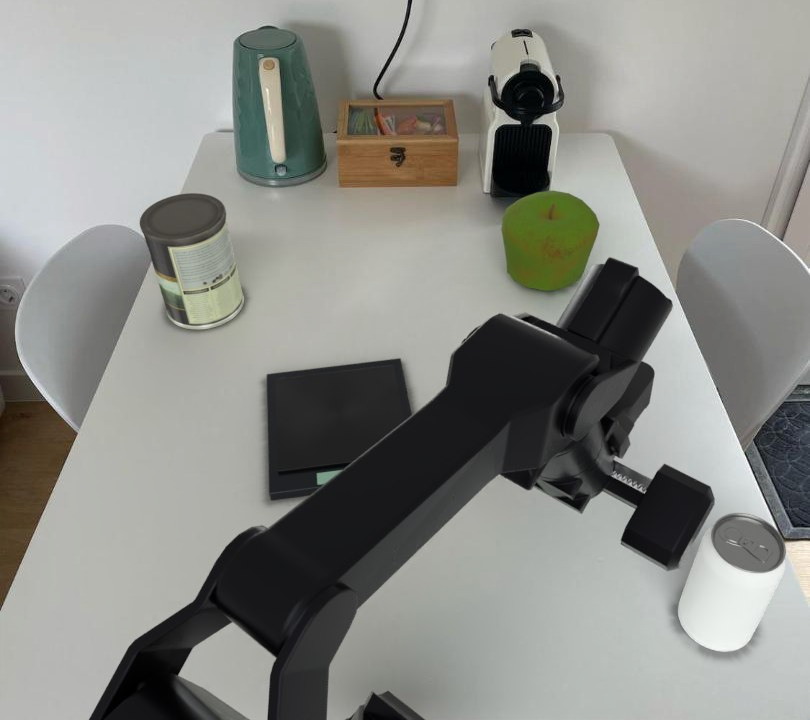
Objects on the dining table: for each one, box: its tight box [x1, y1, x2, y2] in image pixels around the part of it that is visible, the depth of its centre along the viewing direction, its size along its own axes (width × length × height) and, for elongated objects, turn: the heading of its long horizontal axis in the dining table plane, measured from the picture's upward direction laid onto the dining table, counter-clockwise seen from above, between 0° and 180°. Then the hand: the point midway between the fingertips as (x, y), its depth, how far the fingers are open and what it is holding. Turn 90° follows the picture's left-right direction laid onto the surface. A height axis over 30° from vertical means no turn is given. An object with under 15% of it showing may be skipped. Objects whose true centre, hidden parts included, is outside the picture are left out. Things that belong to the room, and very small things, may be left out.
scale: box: [266, 357, 413, 501], centre depth 90 cm, size 18×16×2 cm
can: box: [677, 512, 787, 653], centre depth 68 cm, size 6×6×12 cm
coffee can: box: [139, 192, 245, 331], centre depth 103 cm, size 10×10×14 cm
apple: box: [501, 190, 600, 292], centre depth 106 cm, size 12×12×11 cm
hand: (589, 496), depth 66 cm, fingers open, 9 cm apart
